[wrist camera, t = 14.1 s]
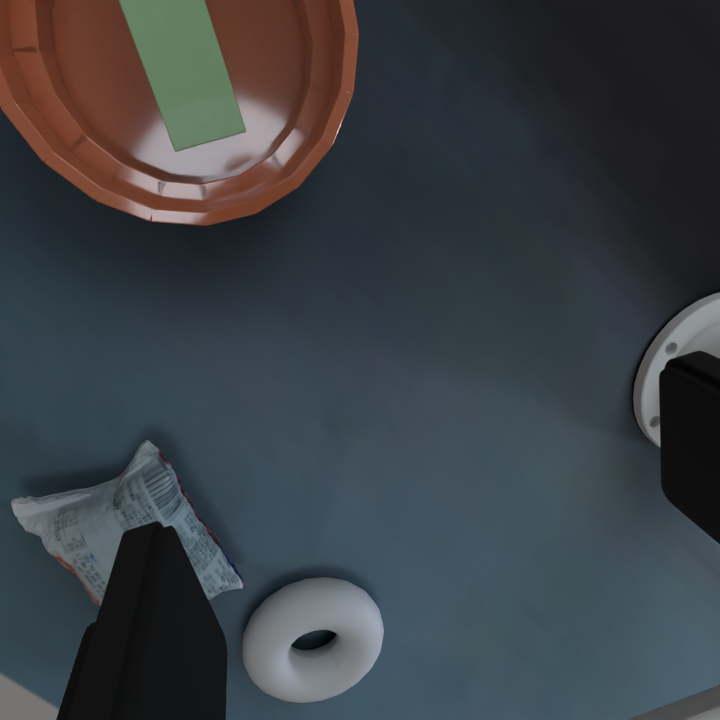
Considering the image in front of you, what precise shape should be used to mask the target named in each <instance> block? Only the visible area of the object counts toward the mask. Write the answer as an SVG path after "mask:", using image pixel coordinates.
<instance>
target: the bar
mask: <svg viewBox="0 0 720 720" xmlns="http://www.w3.org/2000/svg"><path fill="white" fill-rule="evenodd" d="M118 1H119V3H120V6H121V9H122V11H123V14H124V17H125V19H126V22H127V25H128V27H129V30H130V33H131V35H132V38H133V41H134V43H135V46H136V49H137V51H138V54H139V57H140V60H141V62H142V65H143V68H144V70H145V73H146V76H147V78H148V81H149V84H150V86H151V89H152V92H153V94H154V97H155V100H156V102H157V105H158V108H159V110H160V113H161V116H162V118H163V121H164V124H165V126H166V129H167V132H168V134H169V137H170V140H171V143H172V145H173V148H174V151H175V152H177V151H181V150H184V149H188V148H191V147H195V146H198V145H202V144H205V143H209V142H212V141H216V140H219V139H223V138H226V137H230V136H233V135H237V134H240V133H244V132H246V128H245V125H244V122H243V119H242V116H241V113H240V109H239V106H238V103H237V100H236V97H235V94H234V91H233V87H232V84H231V81H230V78H229V75H228V72H227V69H226V65H225V62H224V59H223V56H222V53H221V50H220V47H219V44H218V40H217V37H216V34H215V31H214V28H213V25H212V22H211V18H210V15H209V12H208V9H207V6H206V3H205V0H118Z"/></svg>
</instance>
